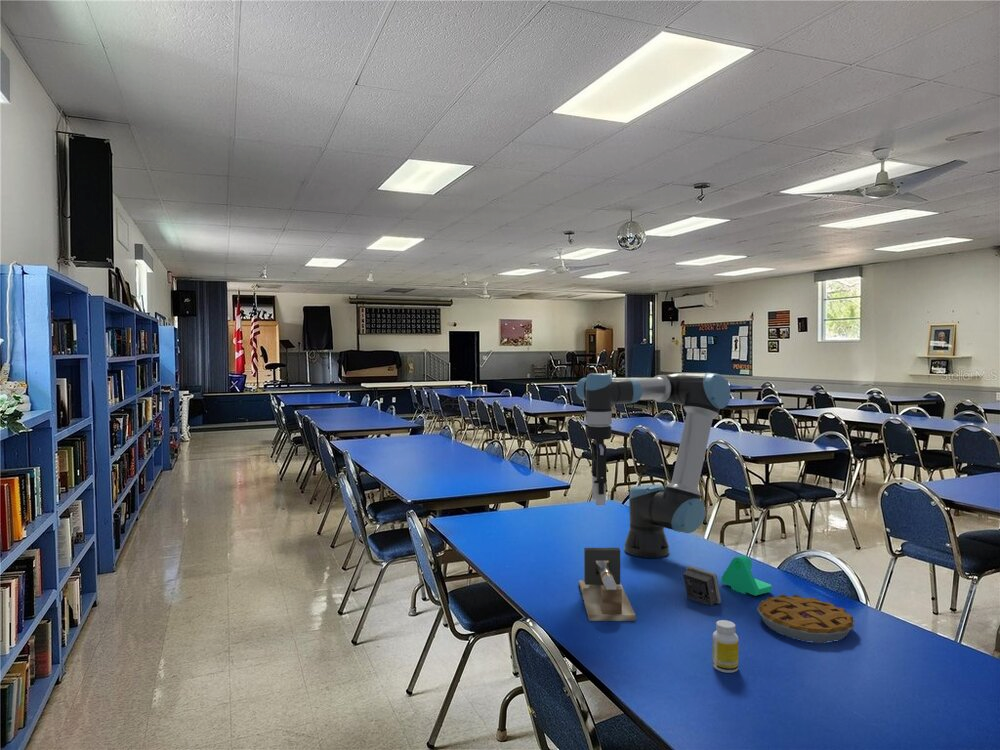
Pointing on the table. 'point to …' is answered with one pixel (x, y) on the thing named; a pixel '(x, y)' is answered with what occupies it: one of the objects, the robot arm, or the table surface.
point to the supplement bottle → (725, 647)
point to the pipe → (606, 576)
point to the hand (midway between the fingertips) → (598, 501)
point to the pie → (805, 618)
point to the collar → (601, 555)
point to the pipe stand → (606, 603)
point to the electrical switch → (701, 585)
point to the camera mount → (743, 577)
